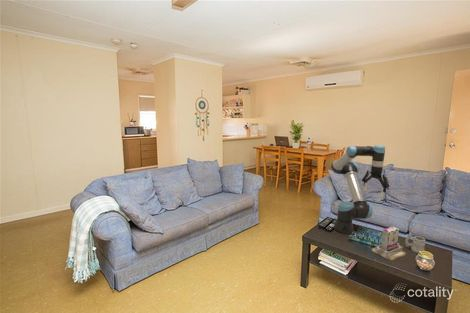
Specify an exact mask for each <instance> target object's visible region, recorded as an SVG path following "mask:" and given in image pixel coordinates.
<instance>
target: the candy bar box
mask: <svg viewBox="0 0 470 313" xmlns="http://www.w3.org/2000/svg"><path fill="white" fill-rule="evenodd" d="M399 234H400V228H397V227H395V226H393V225H392V226H388V227H386V228H383V229H382V235H381V244H380V245H381V249H383V250H385V251H387V252H388V251H391V250H393V249H396V248H397V245H398V242H399V240H398V239H399Z"/></svg>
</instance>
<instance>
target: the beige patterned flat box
mask: <svg viewBox="0 0 470 313" xmlns="http://www.w3.org/2000/svg"><path fill="white" fill-rule="evenodd" d="M403 248H404V247H403V246H401V245H398V244H397V248H396V249H393V250H391V251H388V252H387V251H385V250H383V249H381V244H379V245H376V246H375V247H373V248H371V252H373V253H375V254H377V255H379V256H381V257H382V258H384V259H387V261H388V260H389V262H390V261H391V262H393V261H396V260H398V259H399V258H403V257H405V256H406V255H407V253H406V252H405V251H403Z"/></svg>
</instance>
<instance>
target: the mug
mask: <svg viewBox="0 0 470 313" xmlns="http://www.w3.org/2000/svg"><path fill="white" fill-rule="evenodd" d="M410 239H413V240H412V242H411V243H410V242H409V240H410ZM404 243H405V246H406V247H411V251H412V252H413V253H416V254H419V253H418V252H419V251H425V246H426V239H425V238H424V237H421V236H418V235H415V236H413V235H412V233H411V232H409V233H408V235H407V236H406V238H405V242H404Z"/></svg>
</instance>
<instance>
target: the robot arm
mask: <svg viewBox="0 0 470 313" xmlns="http://www.w3.org/2000/svg"><path fill="white" fill-rule="evenodd" d="M385 154H386V147H385V145H380V144H379V145H376V144H375V145H374V146H371V145H366V146H364V145H363V146H358V145H357V146H356V145H350V146H349V145H348V146H347V147H346V149H345V152H344V153H343V154H341V156H340V157H339V158H337V159H335V160H333V161H332V163H331V164H330V169H331V171H332V172H333V173H334V174H337V175H343V178H344V179H346V182H347V186H348V188H349V192H350V196H351V198H352V199H351V200H352V202H351V201H341V202H340V203H338V206H337V216H336V221H335V223H334V225H333V229H334V230H335V231H336V232H338V233H340V234H347V235H350V234H353V233H354V230H355V229H354V225H353V220H354V219H355V220H356V219H360V220H365V219H367V220H368V219H370V218H371V217H372V215H373V206H372V205H371V204H368V202H367V200H365V198H364V195H363V192H367V191H368V185H369V183H368V182H369V181H371V179H376V180H377V181H379V182H380V185H381V186H382V188H381V192H380V197H384V196H385V193H386V192H387V188H388V189H389V188H390V184H389V181H388V179H387V178H388V177H387V174H386V173H383V170H384V169H383V168H384V161H385ZM356 157H372V158H371V166H370V170H366V173H365V175H364V176H363V178H362V179H361V182H363V192H362V189H361V187H360V184H359V180H358V177H357V176H358V174H359V165H358V164H357V163H356V162H355V161H352V160H353V159H355V158H356ZM352 232H353V233H352Z"/></svg>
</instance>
